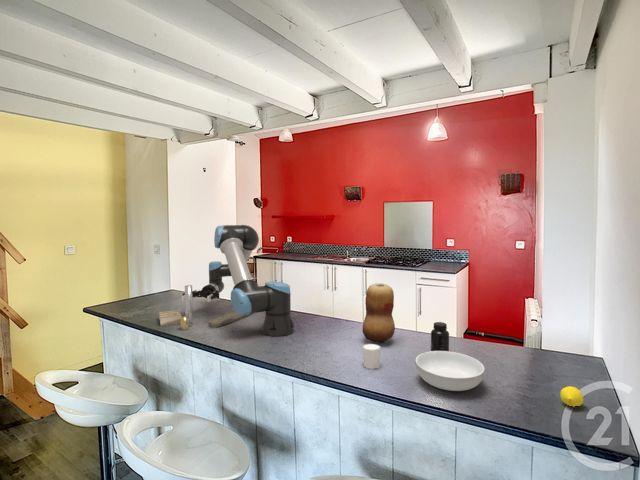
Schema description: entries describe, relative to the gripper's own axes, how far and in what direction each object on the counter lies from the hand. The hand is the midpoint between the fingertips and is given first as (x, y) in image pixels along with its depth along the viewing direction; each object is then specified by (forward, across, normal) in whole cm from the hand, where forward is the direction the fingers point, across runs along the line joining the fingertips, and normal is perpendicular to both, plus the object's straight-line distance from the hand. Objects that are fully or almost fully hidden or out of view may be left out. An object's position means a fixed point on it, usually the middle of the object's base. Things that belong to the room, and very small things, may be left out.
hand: (195, 299), depth 189 cm
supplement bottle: (+41, -114, -12) cm, 122 cm away
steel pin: (+8, 0, -11) cm, 14 cm away
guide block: (+1, +13, -11) cm, 17 cm away
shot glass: (+54, -87, -12) cm, 103 cm away
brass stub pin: (+15, -1, -11) cm, 19 cm away
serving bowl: (+67, -111, -12) cm, 130 cm away
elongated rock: (-5, -19, -12) cm, 23 cm away
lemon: (+79, -141, -12) cm, 162 cm away
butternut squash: (+29, -92, -12) cm, 97 cm away
